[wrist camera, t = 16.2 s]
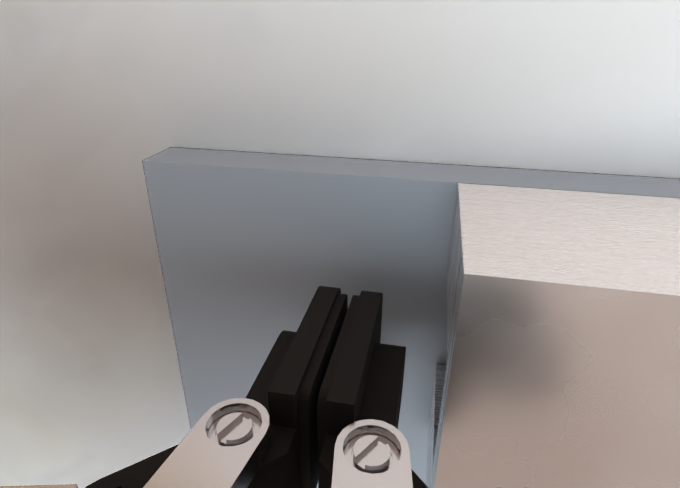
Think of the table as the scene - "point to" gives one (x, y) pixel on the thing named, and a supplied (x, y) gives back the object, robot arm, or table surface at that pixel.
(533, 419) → the housing cover
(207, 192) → the assembly board
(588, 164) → the table surface
